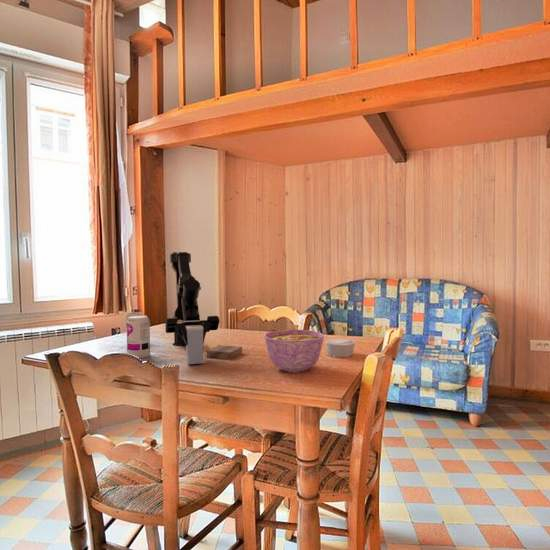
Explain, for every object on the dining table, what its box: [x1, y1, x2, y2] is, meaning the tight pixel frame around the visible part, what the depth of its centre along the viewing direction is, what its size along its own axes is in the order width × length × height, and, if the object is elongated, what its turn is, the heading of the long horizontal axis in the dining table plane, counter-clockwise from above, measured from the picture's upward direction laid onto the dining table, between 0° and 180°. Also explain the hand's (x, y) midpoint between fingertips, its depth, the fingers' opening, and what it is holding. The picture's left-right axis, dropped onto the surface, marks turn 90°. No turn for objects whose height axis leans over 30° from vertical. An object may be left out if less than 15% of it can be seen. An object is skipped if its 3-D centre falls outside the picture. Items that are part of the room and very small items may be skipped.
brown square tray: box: [205, 344, 243, 360], centre depth 170 cm, size 10×10×3 cm
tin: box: [185, 325, 205, 365], centre depth 157 cm, size 5×5×12 cm
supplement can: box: [126, 314, 151, 359], centre depth 169 cm, size 8×8×15 cm
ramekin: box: [324, 338, 356, 358], centre depth 169 cm, size 11×11×5 cm
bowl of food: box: [263, 329, 325, 373], centre depth 149 cm, size 20×20×12 cm
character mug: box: [124, 311, 143, 330], centre depth 192 cm, size 11×7×13 cm, turn 44°
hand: (195, 343), depth 155 cm, fingers closed on tin, 5 cm apart
